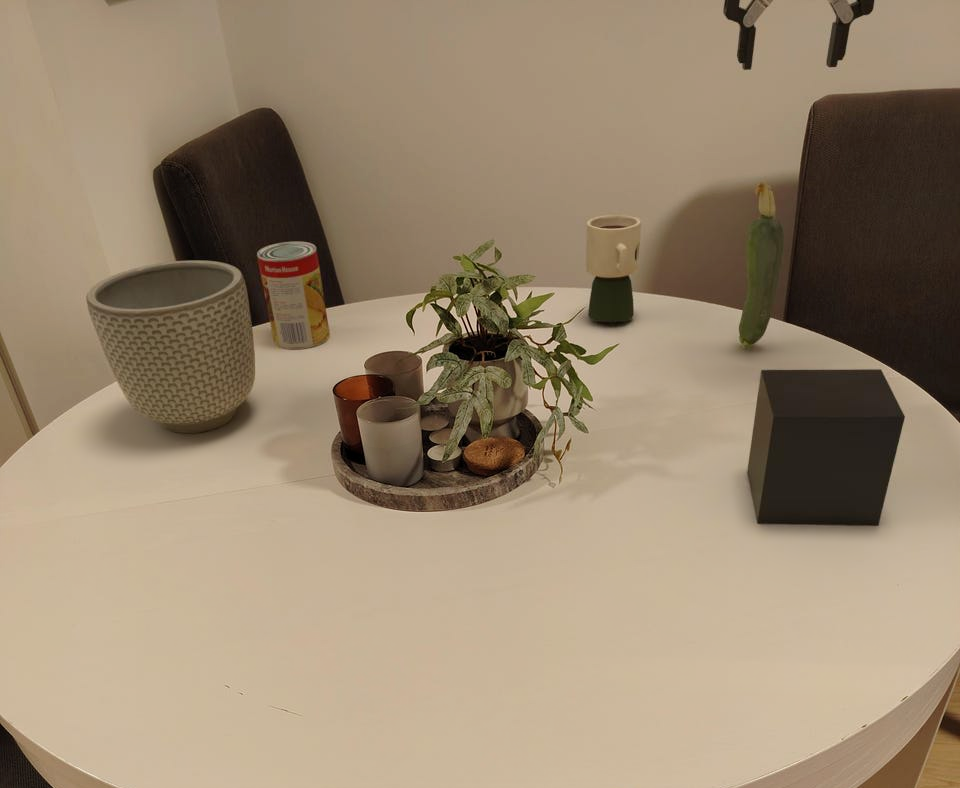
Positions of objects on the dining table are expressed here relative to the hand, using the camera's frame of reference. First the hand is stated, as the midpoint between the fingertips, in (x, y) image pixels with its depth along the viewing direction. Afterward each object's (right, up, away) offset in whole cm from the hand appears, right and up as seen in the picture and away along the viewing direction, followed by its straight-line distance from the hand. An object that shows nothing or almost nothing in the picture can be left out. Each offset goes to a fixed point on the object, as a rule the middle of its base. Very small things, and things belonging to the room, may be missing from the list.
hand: (788, 67), depth 98 cm
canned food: (-57, -17, +35) cm, 69 cm away
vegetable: (+3, -22, +24) cm, 33 cm away
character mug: (-14, -15, +35) cm, 40 cm away
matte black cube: (0, -45, -5) cm, 45 cm away
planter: (-66, -32, +17) cm, 75 cm away
